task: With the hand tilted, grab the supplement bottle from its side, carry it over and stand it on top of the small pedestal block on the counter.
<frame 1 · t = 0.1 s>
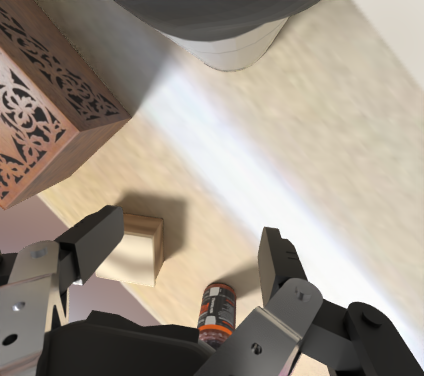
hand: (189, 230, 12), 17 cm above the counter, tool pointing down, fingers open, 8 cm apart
supplement bottle: (220, 292, 39), on the counter
tissue box cover: (23, 66, 27), on the counter
pedestal: (137, 237, 36), on the counter
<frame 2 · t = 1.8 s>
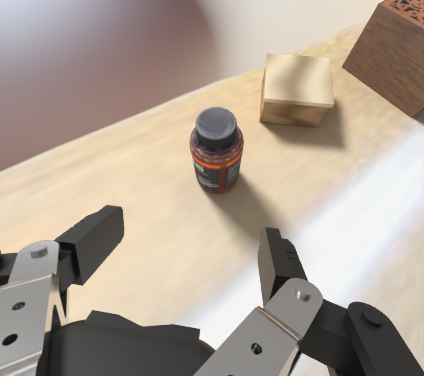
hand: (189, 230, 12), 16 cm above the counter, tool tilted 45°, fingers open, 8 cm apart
supplement bottle: (217, 176, 31), on the counter
tissue box cover: (418, 62, 40), on the counter
pedestal: (287, 103, 36), on the counter
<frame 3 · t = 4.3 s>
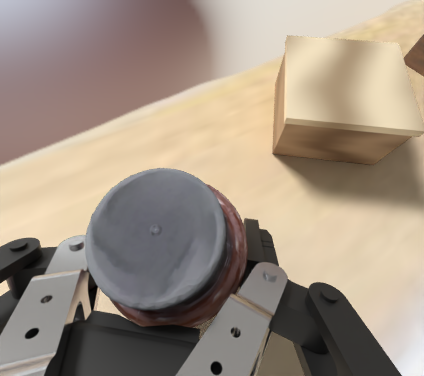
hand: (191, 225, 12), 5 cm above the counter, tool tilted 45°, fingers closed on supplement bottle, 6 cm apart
supplement bottle: (195, 262, 16), on the counter, touching gripper
pedestal: (319, 120, 21), on the counter
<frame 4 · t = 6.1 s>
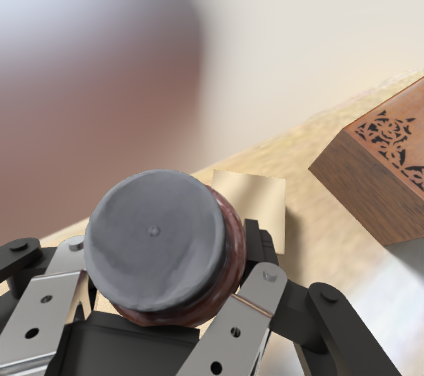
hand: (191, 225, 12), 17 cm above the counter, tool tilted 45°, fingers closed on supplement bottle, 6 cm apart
supplement bottle: (194, 262, 16), point 12 cm above the counter, touching gripper
tissue box cover: (394, 164, 35), on the counter
pedestal: (241, 219, 31), on the counter
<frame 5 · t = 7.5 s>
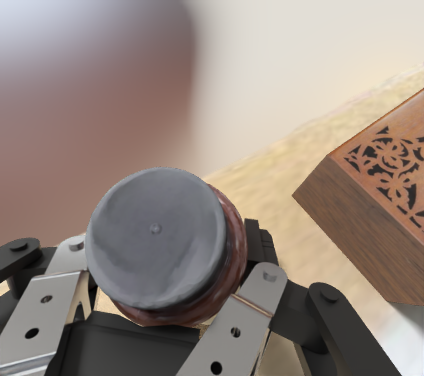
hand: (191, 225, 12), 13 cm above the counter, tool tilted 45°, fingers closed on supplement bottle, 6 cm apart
supplement bottle: (195, 261, 16), point 8 cm above the counter, touching gripper
tissue box cover: (403, 186, 28), on the counter
when the fingers open (11 cm above the counter, at t = 8.4 s): supplement bottle drops 1 cm, resting on pedestal.
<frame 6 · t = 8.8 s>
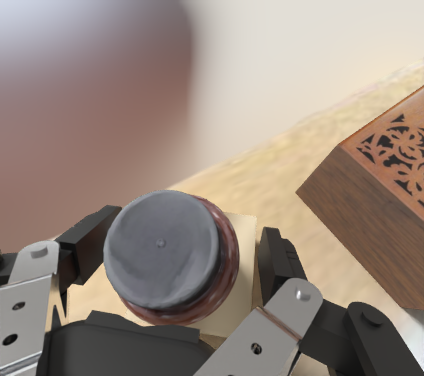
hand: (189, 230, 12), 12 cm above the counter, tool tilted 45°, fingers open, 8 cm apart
supplement bottle: (194, 265, 18), point 5 cm above the counter, touching pedestal
tissue box cover: (413, 182, 26), on the counter
pedestal: (200, 267, 22), on the counter
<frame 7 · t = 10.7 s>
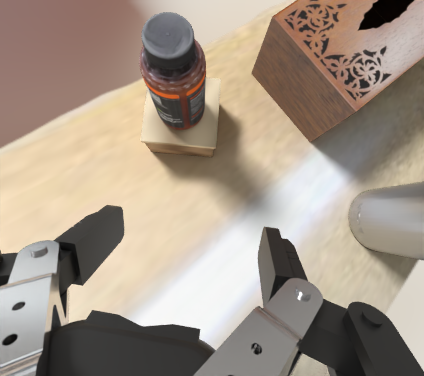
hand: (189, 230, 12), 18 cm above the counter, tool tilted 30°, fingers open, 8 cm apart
supplement bottle: (181, 110, 27), point 5 cm above the counter, touching pedestal
tissue box cover: (335, 66, 36), on the counter
pedestal: (184, 125, 32), on the counter
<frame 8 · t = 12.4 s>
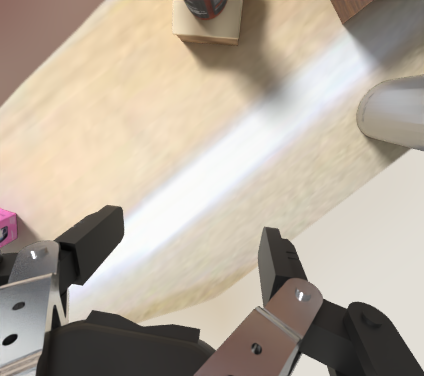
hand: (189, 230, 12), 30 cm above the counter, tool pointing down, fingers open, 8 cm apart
pedestal: (212, 9, 33), on the counter
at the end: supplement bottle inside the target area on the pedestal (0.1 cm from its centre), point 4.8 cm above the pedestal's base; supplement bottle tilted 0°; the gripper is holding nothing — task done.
